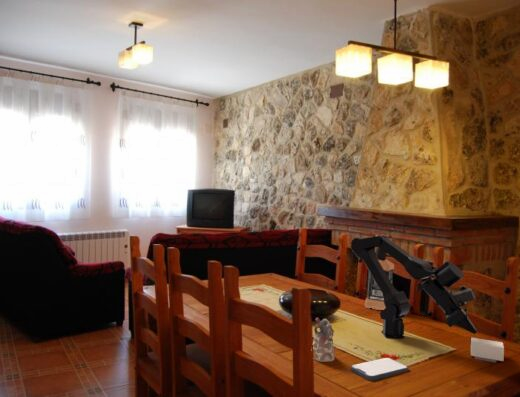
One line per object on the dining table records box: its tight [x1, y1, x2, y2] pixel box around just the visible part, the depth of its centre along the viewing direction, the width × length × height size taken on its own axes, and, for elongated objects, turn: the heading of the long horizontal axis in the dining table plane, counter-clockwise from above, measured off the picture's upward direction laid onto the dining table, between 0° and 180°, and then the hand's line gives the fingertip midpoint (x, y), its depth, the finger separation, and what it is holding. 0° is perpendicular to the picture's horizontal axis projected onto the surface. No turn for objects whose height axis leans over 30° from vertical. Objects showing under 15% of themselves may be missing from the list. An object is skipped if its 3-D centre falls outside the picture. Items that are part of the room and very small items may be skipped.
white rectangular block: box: [470, 337, 505, 362], centre depth 136 cm, size 4×6×9 cm
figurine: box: [312, 317, 336, 363], centre depth 131 cm, size 7×7×12 cm
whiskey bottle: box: [364, 247, 395, 311], centre depth 191 cm, size 10×10×32 cm
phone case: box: [349, 357, 409, 382], centre depth 123 cm, size 9×2×16 cm
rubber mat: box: [473, 356, 497, 363], centre depth 136 cm, size 6×8×1 cm
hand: (475, 332), depth 137 cm, fingers closed
